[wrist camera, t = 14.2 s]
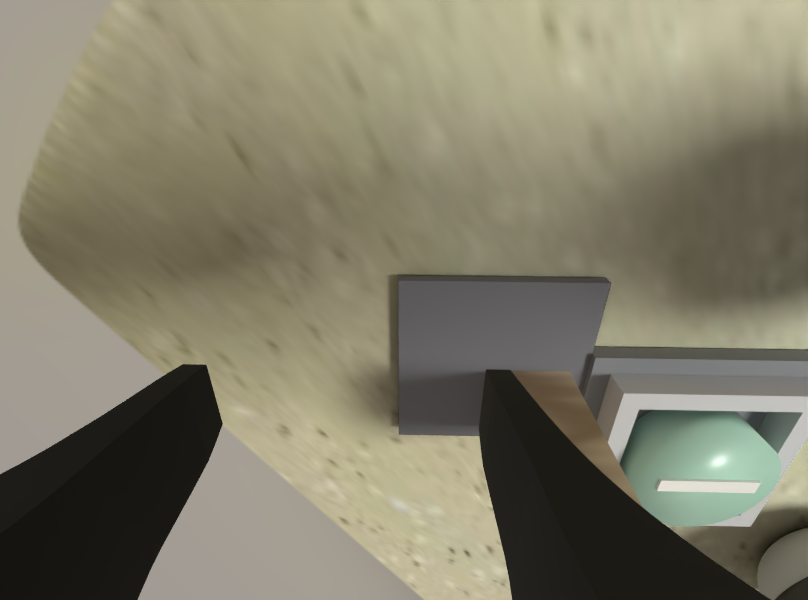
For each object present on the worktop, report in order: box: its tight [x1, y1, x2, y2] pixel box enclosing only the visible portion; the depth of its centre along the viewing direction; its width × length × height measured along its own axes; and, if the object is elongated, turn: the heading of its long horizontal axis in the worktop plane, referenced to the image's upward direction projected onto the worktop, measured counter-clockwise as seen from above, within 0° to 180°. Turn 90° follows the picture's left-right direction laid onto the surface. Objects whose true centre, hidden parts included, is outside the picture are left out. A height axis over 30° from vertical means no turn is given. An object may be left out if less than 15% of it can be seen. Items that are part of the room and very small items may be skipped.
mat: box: [398, 275, 611, 436], centre depth 22 cm, size 10×10×1 cm
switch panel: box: [582, 347, 808, 527], centre depth 23 cm, size 12×12×2 cm
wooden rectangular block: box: [512, 371, 642, 506], centre depth 19 cm, size 4×4×9 cm
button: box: [620, 410, 781, 527], centre depth 22 cm, size 7×7×3 cm
